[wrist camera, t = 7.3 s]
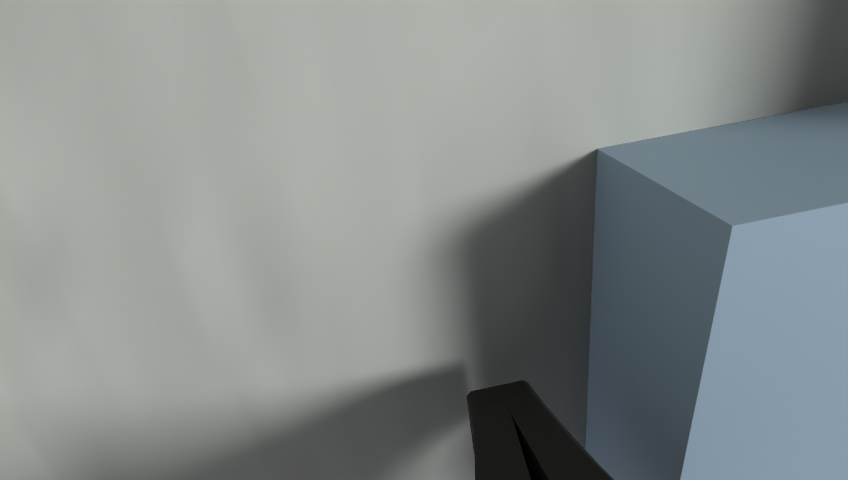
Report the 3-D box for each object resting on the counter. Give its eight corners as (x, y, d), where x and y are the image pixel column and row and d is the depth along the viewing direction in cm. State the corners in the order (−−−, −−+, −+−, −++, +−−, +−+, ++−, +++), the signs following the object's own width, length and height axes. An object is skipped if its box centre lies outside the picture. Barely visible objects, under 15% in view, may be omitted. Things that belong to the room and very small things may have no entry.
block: (580, 452, 14) (655, 600, 10) (589, 144, 9) (732, 226, 6) (816, 398, 14) (965, 524, 11) (940, 78, 10) (1273, 116, 6)
